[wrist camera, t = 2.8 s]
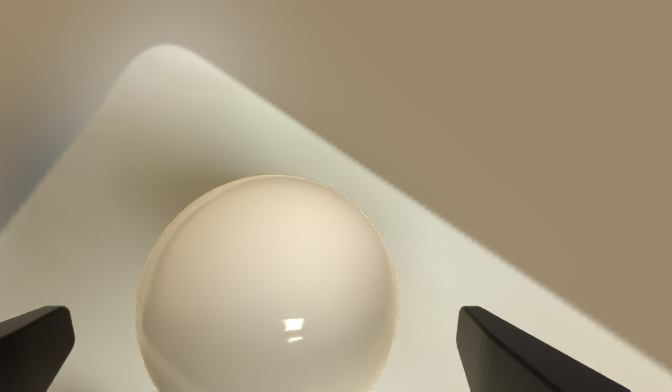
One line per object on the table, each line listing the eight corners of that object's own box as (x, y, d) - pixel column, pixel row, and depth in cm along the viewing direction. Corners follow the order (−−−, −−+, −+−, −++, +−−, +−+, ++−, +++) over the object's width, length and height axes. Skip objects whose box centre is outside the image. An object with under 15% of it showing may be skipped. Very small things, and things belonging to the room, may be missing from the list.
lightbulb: (223, 282, 18) (104, 133, 8) (355, 266, 18) (388, 110, 9) (220, 440, 15) (24, 497, 5) (380, 416, 15) (472, 426, 6)
